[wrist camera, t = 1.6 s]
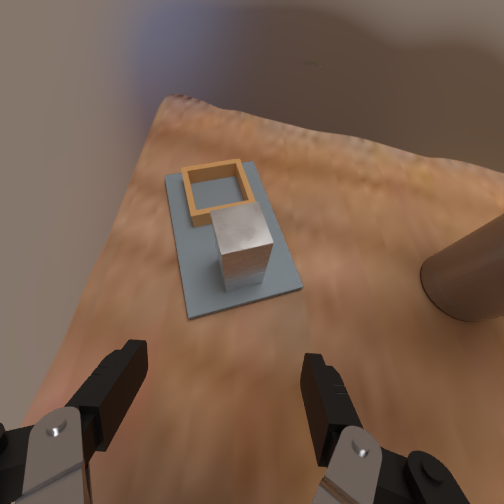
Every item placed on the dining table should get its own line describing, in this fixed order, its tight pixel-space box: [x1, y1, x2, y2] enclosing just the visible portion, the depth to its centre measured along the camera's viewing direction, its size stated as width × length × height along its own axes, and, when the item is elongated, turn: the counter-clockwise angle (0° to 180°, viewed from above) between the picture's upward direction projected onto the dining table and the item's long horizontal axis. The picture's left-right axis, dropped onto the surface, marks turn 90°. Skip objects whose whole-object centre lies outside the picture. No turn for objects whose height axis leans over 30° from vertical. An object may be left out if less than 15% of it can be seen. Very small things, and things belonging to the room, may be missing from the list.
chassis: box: [165, 158, 304, 320], centre depth 31 cm, size 14×22×4 cm, turn 16°
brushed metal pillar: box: [210, 202, 274, 292], centre depth 25 cm, size 4×4×10 cm
